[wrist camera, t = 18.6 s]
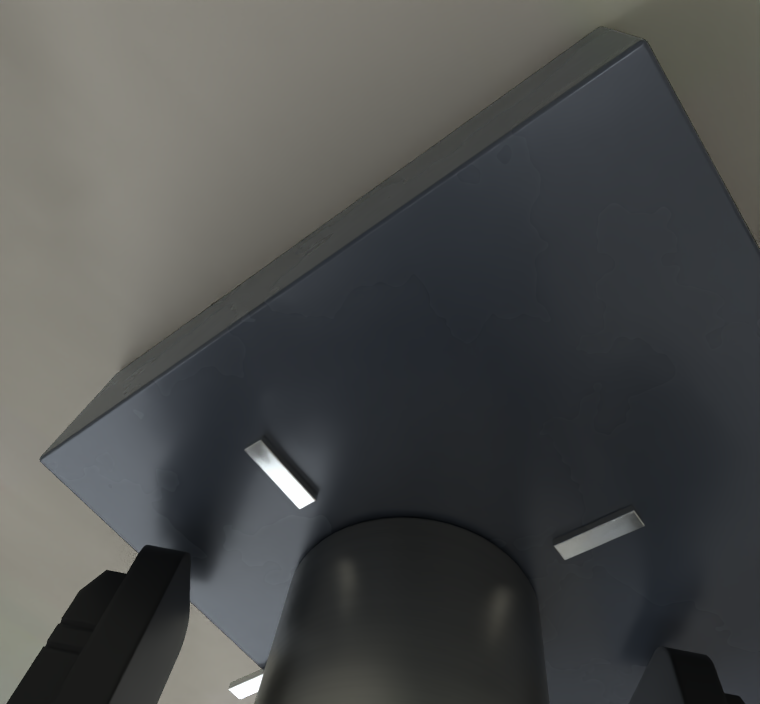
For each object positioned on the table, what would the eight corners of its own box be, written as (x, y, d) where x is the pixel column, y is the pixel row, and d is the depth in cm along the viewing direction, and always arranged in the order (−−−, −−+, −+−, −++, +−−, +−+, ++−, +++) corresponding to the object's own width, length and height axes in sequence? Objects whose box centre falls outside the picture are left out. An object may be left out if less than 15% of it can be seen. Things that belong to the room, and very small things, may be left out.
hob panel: (90, 392, 15) (2, 486, 12) (602, 23, 11) (649, 37, 8) (419, 723, 18) (410, 854, 16) (895, 548, 14) (997, 685, 11)
